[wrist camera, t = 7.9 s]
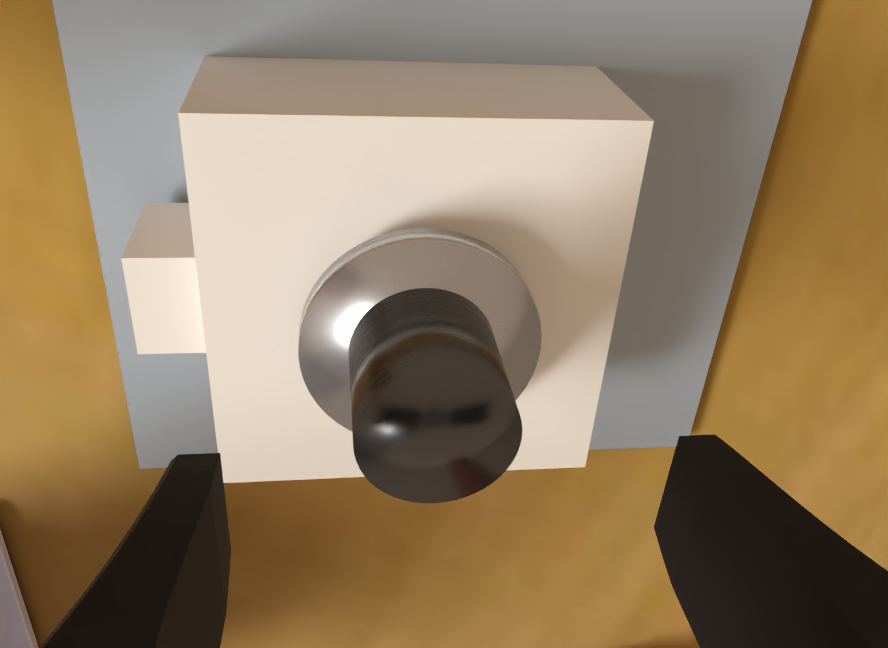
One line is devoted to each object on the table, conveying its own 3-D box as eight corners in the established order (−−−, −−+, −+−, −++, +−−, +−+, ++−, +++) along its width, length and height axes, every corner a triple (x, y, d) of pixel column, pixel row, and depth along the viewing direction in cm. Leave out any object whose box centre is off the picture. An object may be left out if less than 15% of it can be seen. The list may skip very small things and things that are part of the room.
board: (679, 434, 27) (686, 446, 26) (143, 455, 24) (139, 469, 24) (844, -167, 18) (858, -167, 17) (19, -225, 15) (9, -226, 15)
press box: (548, 375, 24) (585, 466, 21) (176, 385, 23) (151, 486, 19) (595, 66, 19) (653, 120, 16) (129, 54, 18) (84, 111, 14)
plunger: (488, 322, 23) (557, 533, 16) (305, 326, 22) (299, 548, 15) (506, 149, 20) (597, 317, 13) (299, 147, 19) (287, 323, 13)
